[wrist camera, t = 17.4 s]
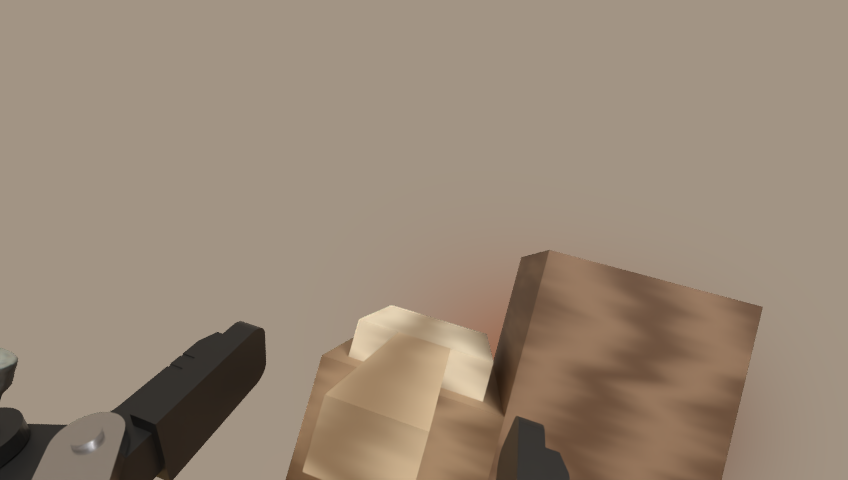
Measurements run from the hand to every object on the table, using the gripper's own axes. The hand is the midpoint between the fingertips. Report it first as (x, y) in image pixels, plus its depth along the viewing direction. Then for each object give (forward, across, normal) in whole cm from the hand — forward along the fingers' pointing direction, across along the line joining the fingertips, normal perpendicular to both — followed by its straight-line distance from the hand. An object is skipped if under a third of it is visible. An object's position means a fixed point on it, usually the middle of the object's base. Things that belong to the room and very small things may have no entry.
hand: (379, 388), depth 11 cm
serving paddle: (+9, 0, +9) cm, 13 cm away
